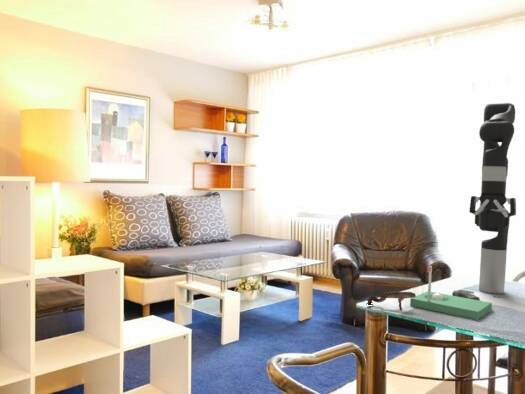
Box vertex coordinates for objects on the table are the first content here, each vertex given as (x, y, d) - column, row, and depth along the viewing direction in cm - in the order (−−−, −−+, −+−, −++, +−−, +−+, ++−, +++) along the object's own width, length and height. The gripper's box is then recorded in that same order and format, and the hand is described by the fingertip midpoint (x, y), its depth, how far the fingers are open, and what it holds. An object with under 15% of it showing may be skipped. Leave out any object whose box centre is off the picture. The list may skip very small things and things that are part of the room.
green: (427, 297, 174) (427, 291, 174) (491, 310, 160) (491, 302, 160) (410, 305, 162) (410, 298, 162) (477, 319, 148) (478, 311, 147)
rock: (484, 303, 170) (485, 291, 170) (468, 306, 165) (469, 294, 164) (465, 298, 177) (466, 287, 176) (449, 301, 171) (449, 289, 171)
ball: (432, 294, 167) (443, 293, 165) (434, 306, 166) (446, 304, 164) (428, 293, 164) (439, 292, 162) (430, 305, 163) (442, 303, 161)
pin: (428, 300, 159) (429, 265, 159) (430, 301, 159) (432, 266, 158) (424, 302, 157) (426, 266, 156) (427, 302, 156) (429, 267, 156)
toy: (381, 325, 156) (419, 300, 153) (365, 303, 158) (402, 278, 154) (381, 320, 162) (417, 296, 159) (365, 299, 163) (401, 275, 160)
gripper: (519, 181, 159) (516, 228, 160) (475, 179, 169) (472, 224, 169) (514, 180, 154) (511, 229, 154) (468, 179, 163) (466, 225, 163)
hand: (491, 227), depth 162 cm, fingers open, 8 cm apart
